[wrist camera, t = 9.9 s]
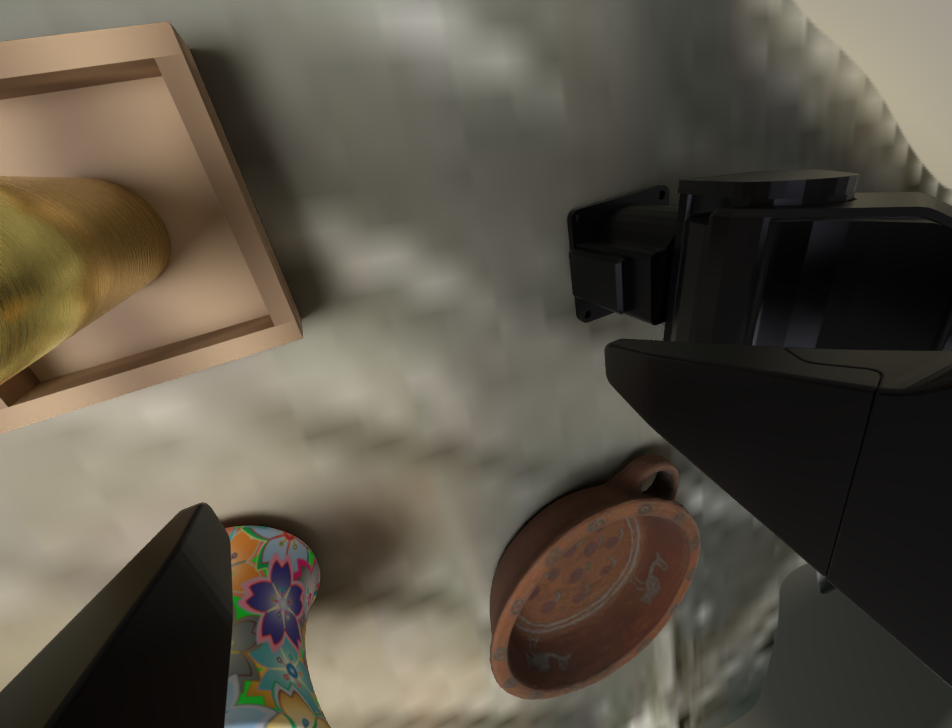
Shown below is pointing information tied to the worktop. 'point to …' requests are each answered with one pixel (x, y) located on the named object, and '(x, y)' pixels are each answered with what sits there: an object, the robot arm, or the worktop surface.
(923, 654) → the robot arm
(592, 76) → the worktop surface
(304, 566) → the mug
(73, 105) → the tray
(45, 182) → the pin
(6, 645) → the worktop surface
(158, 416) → the worktop surface
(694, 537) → the dish
